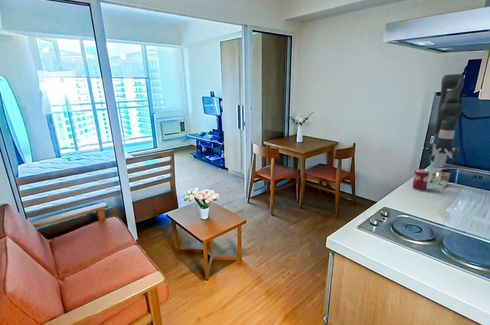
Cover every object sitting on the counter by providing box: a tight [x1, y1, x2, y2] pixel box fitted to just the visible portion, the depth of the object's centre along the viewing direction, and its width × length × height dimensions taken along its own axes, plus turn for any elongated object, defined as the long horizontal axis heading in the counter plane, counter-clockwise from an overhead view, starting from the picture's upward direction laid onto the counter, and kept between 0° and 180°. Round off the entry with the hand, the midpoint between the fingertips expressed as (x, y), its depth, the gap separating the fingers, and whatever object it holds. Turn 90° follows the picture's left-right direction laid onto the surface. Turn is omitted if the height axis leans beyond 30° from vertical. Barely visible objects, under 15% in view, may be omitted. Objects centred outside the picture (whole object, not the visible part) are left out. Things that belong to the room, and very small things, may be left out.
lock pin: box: [433, 170, 443, 185], centre depth 163 cm, size 3×3×9 cm
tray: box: [427, 178, 449, 191], centre depth 164 cm, size 10×9×2 cm
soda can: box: [411, 168, 430, 192], centre depth 159 cm, size 7×7×12 cm
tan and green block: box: [430, 170, 451, 183], centre depth 171 cm, size 13×9×5 cm
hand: (440, 162), depth 160 cm, fingers open, 8 cm apart
